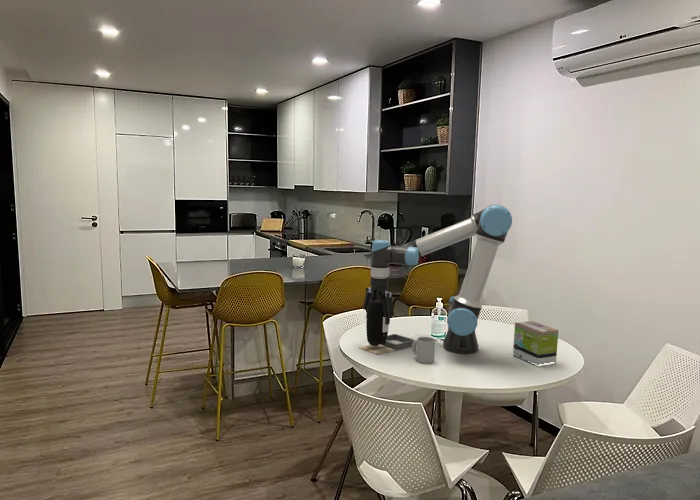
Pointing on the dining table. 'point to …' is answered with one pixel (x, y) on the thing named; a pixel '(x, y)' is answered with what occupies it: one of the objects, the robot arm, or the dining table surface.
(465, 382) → the dining table surface
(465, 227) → the robot arm
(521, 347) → the tea box
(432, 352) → the cup
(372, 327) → the portable speaker
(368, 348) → the birch board
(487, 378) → the dining table surface
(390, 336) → the tray
